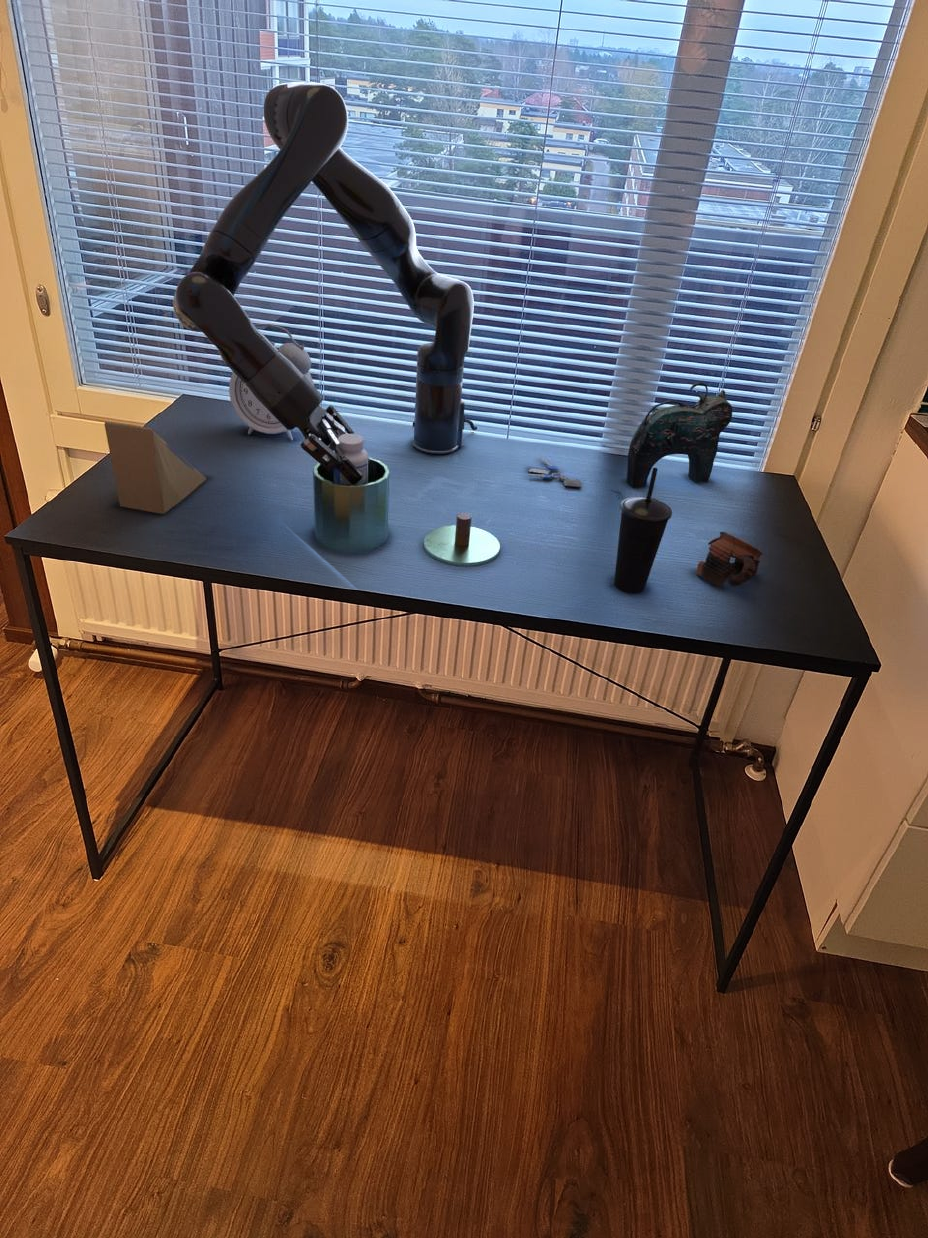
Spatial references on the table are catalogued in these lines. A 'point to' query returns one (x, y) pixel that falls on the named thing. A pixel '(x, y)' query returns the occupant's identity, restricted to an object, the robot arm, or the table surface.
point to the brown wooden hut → (719, 561)
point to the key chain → (566, 481)
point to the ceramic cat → (679, 436)
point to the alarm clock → (251, 406)
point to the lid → (461, 543)
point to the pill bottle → (353, 457)
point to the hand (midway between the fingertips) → (362, 472)
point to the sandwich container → (148, 469)
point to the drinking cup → (639, 539)
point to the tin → (351, 509)
